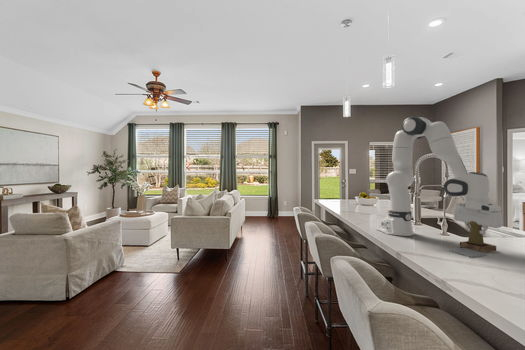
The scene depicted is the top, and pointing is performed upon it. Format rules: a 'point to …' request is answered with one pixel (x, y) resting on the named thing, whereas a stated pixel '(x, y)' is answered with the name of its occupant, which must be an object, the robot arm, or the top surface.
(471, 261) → the top surface
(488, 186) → the robot arm
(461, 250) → the rubber mat
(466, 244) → the walnut cradle
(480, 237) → the olive green figurine
